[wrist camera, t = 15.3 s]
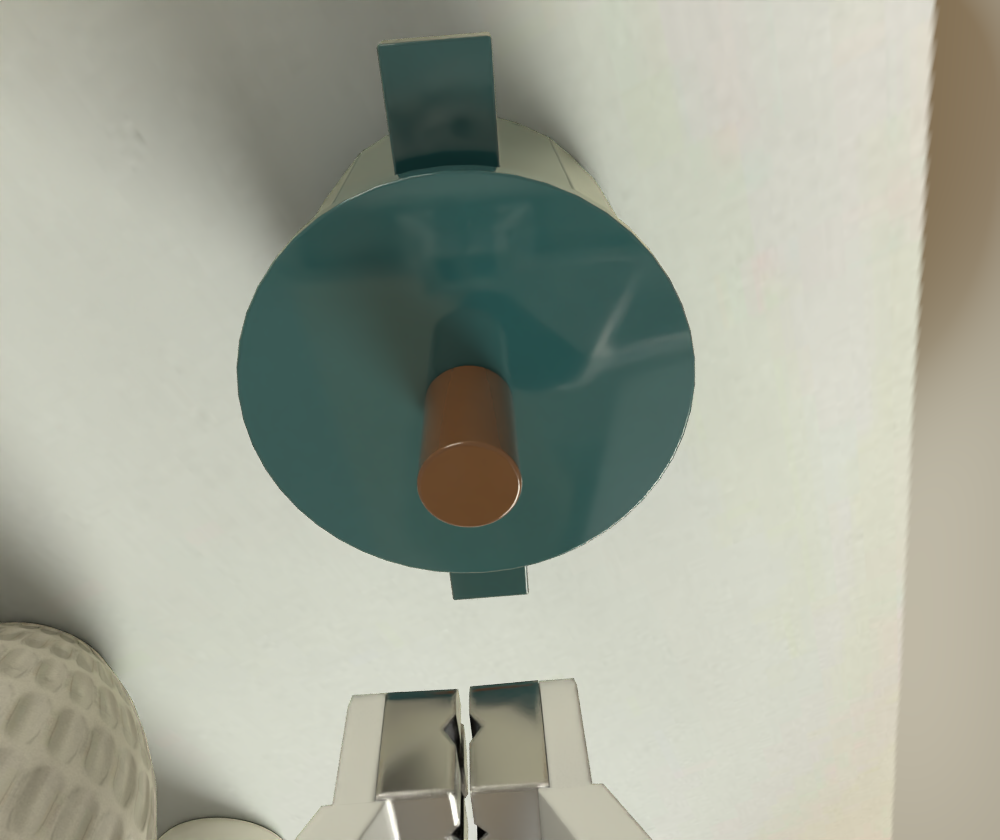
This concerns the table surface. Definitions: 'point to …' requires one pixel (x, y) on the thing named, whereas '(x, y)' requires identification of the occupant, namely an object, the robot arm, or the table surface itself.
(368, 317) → the lid
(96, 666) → the vase
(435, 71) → the cooking pot
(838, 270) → the table surface
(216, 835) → the cup
